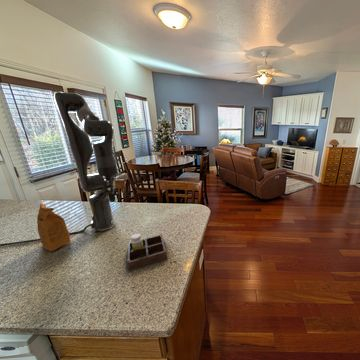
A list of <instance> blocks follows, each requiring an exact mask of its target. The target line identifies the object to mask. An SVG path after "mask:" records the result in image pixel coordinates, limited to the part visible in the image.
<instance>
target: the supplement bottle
mask: <svg viewBox="0 0 360 360" xmlns="http://www.w3.org/2000/svg"><path fill="white" fill-rule="evenodd" d="M142 239H143V238H142V235H141V234H140V233H134V234H133V235H131V240H130V242H131V243H132V248H133V250H136V249H140V248H144V246H143V241H142Z"/></svg>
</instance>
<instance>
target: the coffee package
mask: <svg viewBox="0 0 360 360" xmlns="http://www.w3.org/2000/svg"><path fill="white" fill-rule="evenodd" d="M54 210H55V208H54V207H47V204H44V203H40V205H39V209H38V213H37V217H36V221H37V222H36V223H37V233H38V236H39V239H40V240H39V241H40V243H41V245H42V247H43V248H44V249H45V250H46V251H50V252H55V250H57V249H59V248H61V247H63V246H66V245H68V244H69V243H71V242H72V241H71V237H70V235H69V233H70V231H69V229H68V227H67V224H66V220H65V219H64V217H62V216H61V215H59V214H57V213H55V212H54Z"/></svg>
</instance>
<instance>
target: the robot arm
mask: <svg viewBox="0 0 360 360" xmlns="http://www.w3.org/2000/svg"><path fill="white" fill-rule="evenodd" d="M53 95H54V96H53V98H54V102H55V105H56V108H57V110H58V113H59V115H60V116H59V117H60V118H61V121H62V123H63V124H62V125H63V127H64V130H65V134H66V137H67V142H68V144H69V149H70V151H71V154H72V157H73V159H74V163H75V166H76V171H77V176H78V179H79V183H80V187H81V189H82V191H83V192H84V193H92V192H95V193H94V194H93V195H91V196H89V197H88V204H89V208H90V212H91V214H92V215H91V221H90V224H88V225H85V227H84V228H83V229H81V230H77V231H71V232H69V236H70V235H77V234H80V233H83V232H85V231H86V230H87V228H89V227H91V229H94V232H104V231H108V230H110V229H111V230H112V228H114V227H115V219H114V217H113V212H112V208H111V204H110V203H111V202H112V201H113V202H114V201H115V200H116V194H117V188H116V186H117V184H116V177H115V176H116V175H118V173H119V171H118V165H117V161H116V157H115V155H114V150H113V137H114V126H113V124H112V123H111V122H110V120H107V119H101V118H100V116H98V115H97V114H96V113H95V112H94V111H93V110H92V109H91V107H90V105H89V104H88V102H87V101H86V99H85V98H84V97H83V96H82V95H81V94H79V93H76V92H64V91H55V92H54V94H53ZM70 113H76V118H77V120H78V121H79V122H80V123H81V124H82V126H83V127H82V128H83V129H82V128H81V127H80V126H79V125H78V124H77V123H76V122H75V121H74V119H73V118H72V116H71V114H70ZM100 137H103V139H102V140H100V141H96V142H94V143H92V139H91V138H100ZM93 154H94V159H95V160H94V161H95V165H96V170H97V173H93V174H88V166H89V163H90V161H91V159H92V156H93ZM110 201H111V202H110ZM38 241H41V240H40V238H34V239H27V240H20V241H13V242H6V243H0V247H5V246H12V245H17V244H18V245H19V244H25V243H33V242H38Z"/></svg>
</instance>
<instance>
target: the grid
mask: <svg viewBox="0 0 360 360" xmlns="http://www.w3.org/2000/svg"><path fill="white" fill-rule="evenodd" d="M142 241H143V246H144V248H140V249H136V250H133V248H132V243H131V241H129V242H128V243H127V267H128V271H132V270H136V269H139V268H142V267H145V266H148V265H152V264H155V263H158V262H162V261H165V260H167V259H168V255H167V249H166V245H165V241H164V238H163V234H158V235H154V236H150V237H146V238H142Z"/></svg>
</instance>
